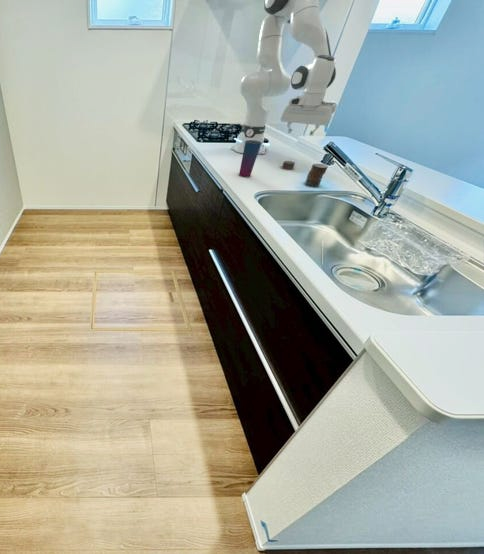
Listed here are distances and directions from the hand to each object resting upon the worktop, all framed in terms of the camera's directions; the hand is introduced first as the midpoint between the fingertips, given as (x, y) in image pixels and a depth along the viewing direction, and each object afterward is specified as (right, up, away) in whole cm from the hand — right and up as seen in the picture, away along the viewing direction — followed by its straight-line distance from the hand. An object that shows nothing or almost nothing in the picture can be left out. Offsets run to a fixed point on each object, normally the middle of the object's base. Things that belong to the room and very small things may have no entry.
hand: (299, 134), depth 141 cm
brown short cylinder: (0, -12, +10) cm, 16 cm away
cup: (-26, -20, +1) cm, 33 cm away
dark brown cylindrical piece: (-1, -27, -9) cm, 29 cm away
